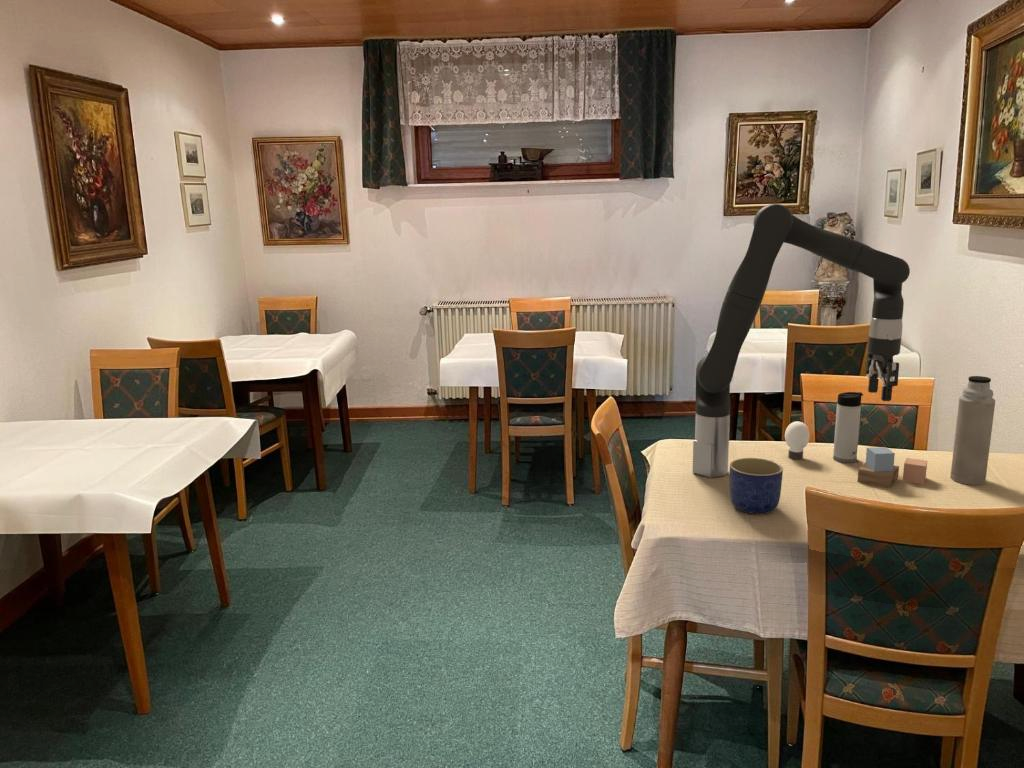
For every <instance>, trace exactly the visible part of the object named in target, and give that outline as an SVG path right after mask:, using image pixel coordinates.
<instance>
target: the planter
mask: <svg viewBox="0 0 1024 768" xmlns="http://www.w3.org/2000/svg"><path fill="white" fill-rule="evenodd" d="M783 473H784V467H783V466H782V465H781V464H780V463H778V462H776V461H773V460H769V459H764V458H760V457H759V458H756V457H746V458H745V457H742V458H738V459H735V460H733V461H731V462H730V464H729V493H730V501H731V504H732V506H734V507H735V508H736V509H737V510H739V511H741V512H743V513H744V512H745V513H748V514H753V515H754V514H755V515H756V514H757V515H760V514H761V515H762V514H768V513H771V512H773V511H775V510H776V509H777V507H778V505H779V504H780V499H781V492H782V482H783Z"/></svg>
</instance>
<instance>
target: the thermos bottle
mask: <svg viewBox="0 0 1024 768" xmlns="http://www.w3.org/2000/svg"><path fill="white" fill-rule="evenodd" d="M967 380H968V382H967V386H966V387H964V388H963V389H962V392H961V393H962V395H960V396H959V397H958V407H957V415H956V424H955V434H954V442H953V451H952V460H951V467H950V468H951V470H950V476H949V477H950V479H951V481H953V482H956V483H959V484H962V483H963V485H969V486H979V485H985V483H986V479H987V474H988V473H987V472H988V466H989V465H988V463H989V457H990V456H989V455H990V447H991V441H992V431H993V424H994V423H993V422H994V415H995V407H996V406H995V405H996V399H994V398H993V397H994V391H993V390H992V389H991V382H992V379H991V377H987V376H981V375H973V376H972V375H971V376H968V379H967Z"/></svg>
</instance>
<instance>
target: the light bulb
mask: <svg viewBox="0 0 1024 768" xmlns="http://www.w3.org/2000/svg"><path fill="white" fill-rule="evenodd" d="M810 435H811V434H810V430H809V427H808V426H807V425H806V424H805V423H804V422H802V421H800V420H799V421H792V422H791V423H790V424H788V426H787V427H786V429H785V433H784V439H785V443H786V445H787V447H789V449H788V453H787V454H788V455H787V457H788V458H789V459H791V460H803V458H804V448H805V447H807V445H808V443H809V441H810V438H811V437H810Z"/></svg>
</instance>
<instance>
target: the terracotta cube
mask: <svg viewBox="0 0 1024 768" xmlns="http://www.w3.org/2000/svg"><path fill="white" fill-rule="evenodd" d="M927 469H928V460H926V459H925V460H924V459H918V458H911V457H906V458H905V460H904V464H903V471H902V482H909V483H915V484H921V485H922V484H923V485H924V484H925V481H926V478H927V477H926V476H927Z"/></svg>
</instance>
